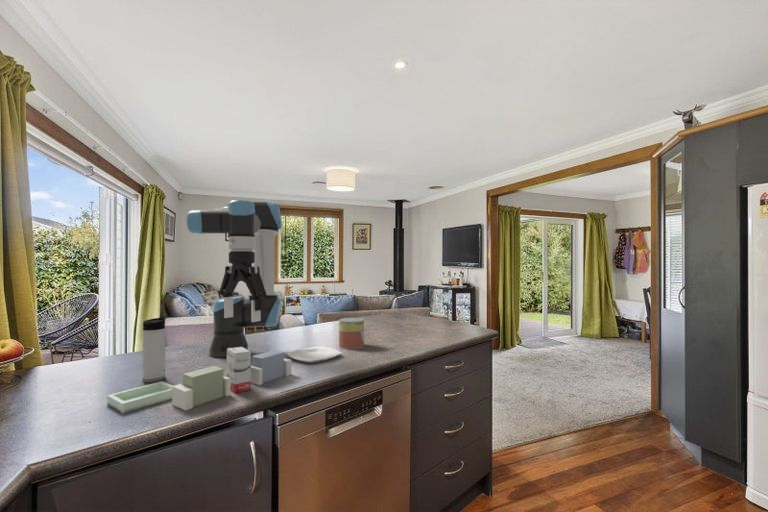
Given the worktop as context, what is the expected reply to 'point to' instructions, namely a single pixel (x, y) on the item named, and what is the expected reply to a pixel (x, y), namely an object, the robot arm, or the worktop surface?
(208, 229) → the robot arm
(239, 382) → the ink box
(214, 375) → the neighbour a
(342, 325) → the canned food
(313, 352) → the plate
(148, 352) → the travel mug
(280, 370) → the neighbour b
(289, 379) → the worktop surface
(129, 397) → the tray
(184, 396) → the holder
